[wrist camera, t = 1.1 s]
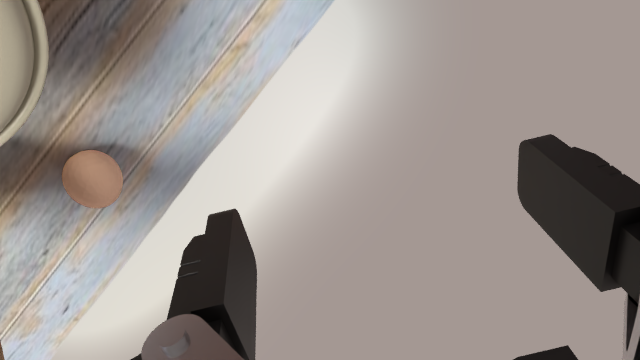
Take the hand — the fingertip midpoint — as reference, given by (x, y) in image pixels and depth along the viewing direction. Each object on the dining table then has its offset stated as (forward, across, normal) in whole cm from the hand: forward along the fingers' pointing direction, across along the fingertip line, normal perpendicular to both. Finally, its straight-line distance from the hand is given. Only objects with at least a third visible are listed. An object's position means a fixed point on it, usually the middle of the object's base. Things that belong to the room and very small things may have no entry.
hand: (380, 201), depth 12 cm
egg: (+37, +28, +11) cm, 47 cm away
